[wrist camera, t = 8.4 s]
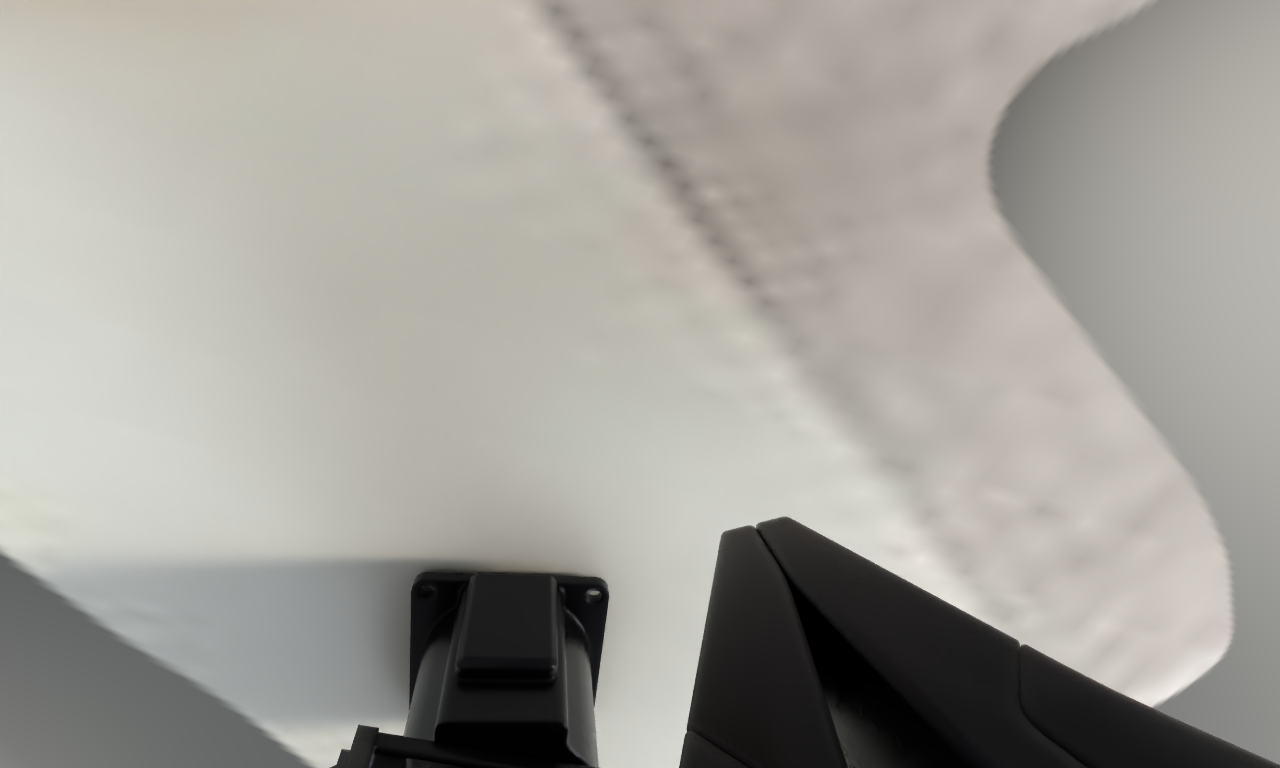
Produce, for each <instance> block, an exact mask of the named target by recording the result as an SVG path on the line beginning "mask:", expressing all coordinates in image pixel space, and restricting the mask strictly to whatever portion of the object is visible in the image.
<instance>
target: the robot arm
mask: <svg viewBox="0 0 1280 768" xmlns="http://www.w3.org/2000/svg"><path fill="white" fill-rule="evenodd" d="M423 586H431V587H432V588H433V589H434V590H432V591H426V590H424V589H423V588H422V587H423ZM594 590H596V591H599V592H600V593H598V594H597V595H589V594H588V593H589V592H591V591H594ZM608 601H609V592H608V585H607V583H606V582H605V581H604V580H603V579H601V578H597V577H575V576H550V575H538V574H505V573H477V574H476V573H443V572H426V573H422V574H420V575H418V576H417V577H416V579H415V580H414V584H413V587H412V591H411V637H410V698H409V715H408V719H407V723H406V728H405V732H404V736H399V735H392V734H386V733H380V732H378V730H379V728H376V727H370V726H364V725H358V728H357V731H356V734H355V737H354V741H353V744H352V747H351V750H345V749H342V750H341V753H340V756H339V759H338V762H337V765H335V766H333V767H331V768H599V766H598V753H597V741H596V728H595V715H594V705H595V698H596V690H597V683H598V675H599V668H600V660H601V653H602V645H603V638H604V631H605V623H606V616H607V608H608ZM679 768H1280V765H1279V764H1276V763H1274V762H1272V761H1269V760H1267V759H1265V758H1263V757H1260V756H1258V755H1256V754H1254V753H1252V752H1249V751H1247V750H1245V749H1242V748H1240V747H1238V746H1236V745H1233V744H1231V743H1229V742H1227V741H1224V740H1222V739H1220V738H1217V737H1215V736H1213V735H1211V734H1209V733H1206V732H1204V731H1202V730H1199V729H1197V728H1195V727H1192V726H1190V725H1188V724H1186V723H1184V722H1181V721H1179V720H1177V719H1175V718H1173V717H1170V716H1168V715H1166V714H1164V713H1162V712H1160V711H1158V710H1155V709H1153V708H1151V707H1149V706H1147V705H1145V704H1142V703H1140V702H1138V701H1136V700H1134V699H1132V698H1129V697H1127V696H1125V695H1123V694H1121V693H1119V692H1116V691H1114V690H1112V689H1110V688H1108V687H1106V686H1104V685H1103V684H1101V683H1099V682H1097V681H1095V680H1093V679H1091V678H1089V677H1087V676H1085V675H1083V674H1081V673H1079V672H1077V671H1075V670H1073V669H1071V668H1069V667H1067V666H1065V665H1063V664H1061V663H1059V662H1058V661H1056V660H1054V659H1052V658H1050V657H1048V656H1046V655H1044V654H1043V653H1041V652H1039V651H1037V650H1035V649H1033V648H1031V647H1030V646H1028V645H1021V646H1020V644H1019V642H1018V640H1016V639H1014V638H1012V637H1010V636H1009V635H1007V634H1005V633H1003V632H1001V631H999V630H997V629H996V628H994V627H992V626H990V625H988V624H986V623H984V622H983V621H981V620H979V619H977V618H975V617H973V616H971V615H970V614H968V613H966V612H964V611H962V610H960V609H958V608H957V607H955V606H953V605H951V604H949V603H947V602H945V601H944V600H942V599H940V598H938V597H936V596H934V595H932V594H931V593H929V592H927V591H925V590H923V589H921V588H919V587H917V586H916V585H914V584H912V583H910V582H908V581H906V580H904V579H903V578H901V577H899V576H897V575H895V574H893V573H891V572H890V571H888V570H886V569H884V568H882V567H880V566H878V565H877V564H875V563H873V562H871V561H869V560H867V559H865V558H864V557H862V556H860V555H858V554H856V553H854V552H852V551H851V550H849V549H847V548H845V547H843V546H841V545H839V544H838V543H836V542H834V541H832V540H830V539H828V538H826V537H825V536H823V535H821V534H819V533H817V532H815V531H813V530H812V529H810V528H808V527H806V526H804V525H802V524H800V523H799V522H797V521H795V520H793V519H791V518H789V517H780V518H776V519H772V520H768V521H764V522H760V523H758V524H757V525H756V528H755V527H754V526H744V527H740V528H736V529H732V530H728V531H725V532H723V534H722V536H721V540H720V545H719V551H718V556H717V562H716V568H715V573H714V579H713V584H712V590H711V596H710V601H709V607H708V612H707V618H706V623H705V629H704V635H703V640H702V646H701V651H700V657H699V663H698V668H697V674H696V679H695V685H694V690H693V696H692V702H691V707H690V713H689V718H688V724H687V733H686V734H685V738H684V744H683V749H682V755H681V761H680V766H679Z"/></svg>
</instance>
